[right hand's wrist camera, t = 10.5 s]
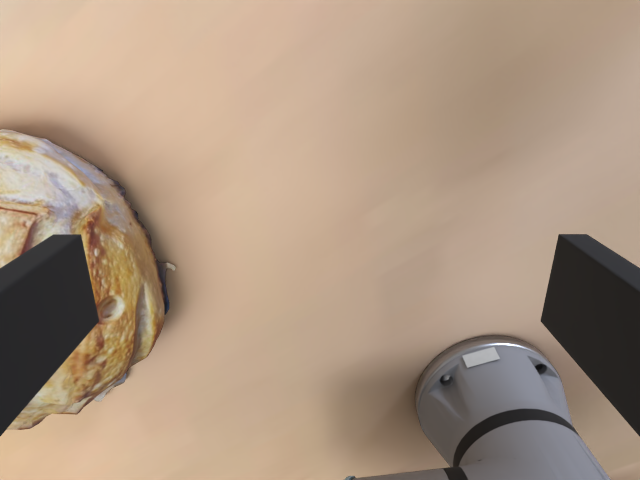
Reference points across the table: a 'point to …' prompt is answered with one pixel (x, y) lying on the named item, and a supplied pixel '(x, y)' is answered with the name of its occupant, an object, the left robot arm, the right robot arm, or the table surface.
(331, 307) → the table surface
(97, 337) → the bread
